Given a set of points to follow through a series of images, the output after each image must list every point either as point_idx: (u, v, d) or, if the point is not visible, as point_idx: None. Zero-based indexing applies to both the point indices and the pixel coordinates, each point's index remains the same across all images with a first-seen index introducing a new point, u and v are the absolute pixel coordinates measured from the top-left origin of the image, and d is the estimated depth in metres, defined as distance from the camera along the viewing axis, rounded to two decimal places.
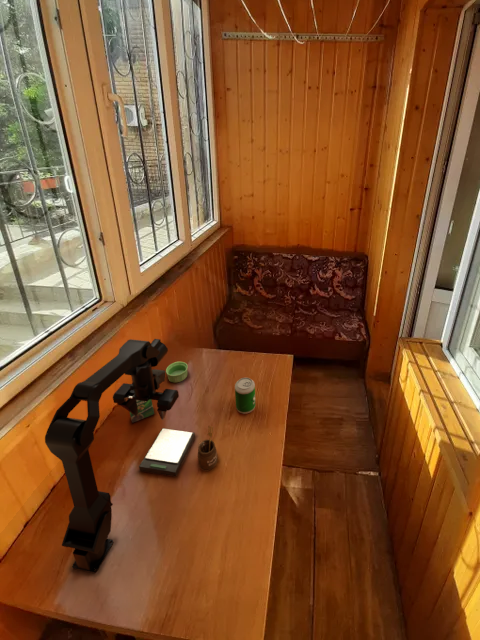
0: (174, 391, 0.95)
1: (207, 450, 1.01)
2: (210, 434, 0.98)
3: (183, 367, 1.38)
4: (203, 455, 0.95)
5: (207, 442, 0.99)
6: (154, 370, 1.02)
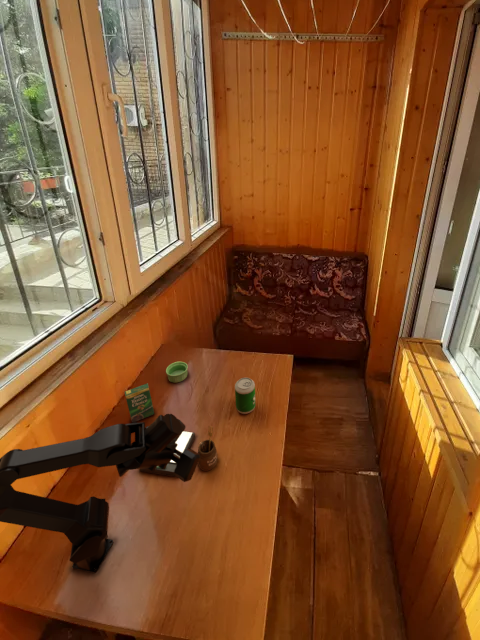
0: (190, 461, 0.77)
1: (207, 450, 1.01)
2: (210, 434, 0.98)
3: (183, 367, 1.38)
4: (203, 455, 0.95)
5: (207, 442, 0.99)
6: None
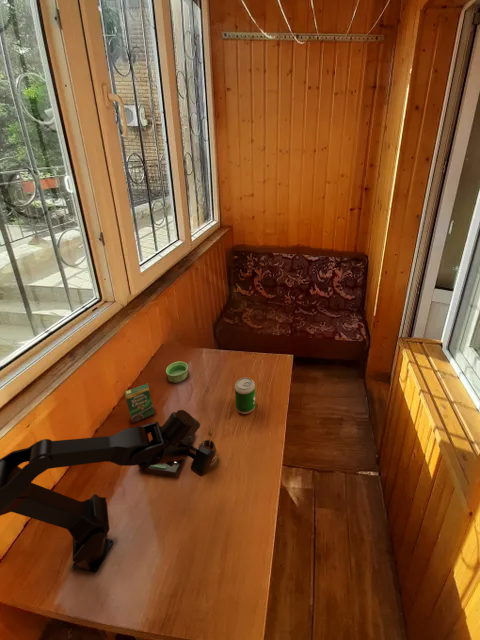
0: (205, 457, 0.82)
1: None
2: (210, 434, 0.98)
3: (183, 367, 1.38)
4: None
5: (207, 442, 0.99)
6: None
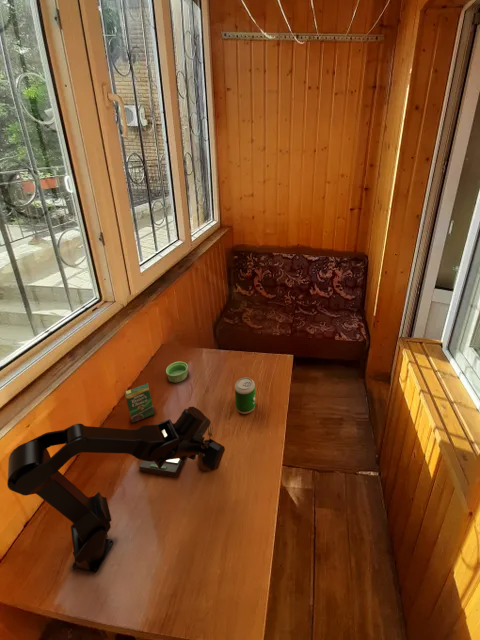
0: (217, 452, 0.87)
1: None
2: (210, 434, 0.98)
3: (183, 367, 1.38)
4: None
5: None
6: None
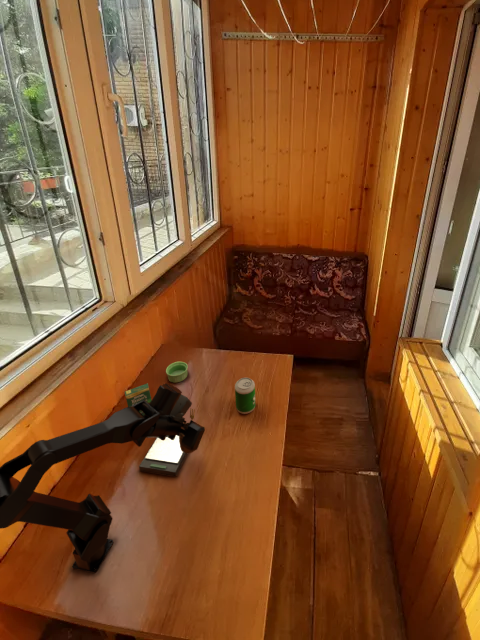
0: (196, 432, 0.86)
1: None
2: (192, 417, 0.98)
3: (183, 367, 1.38)
4: None
5: None
6: None
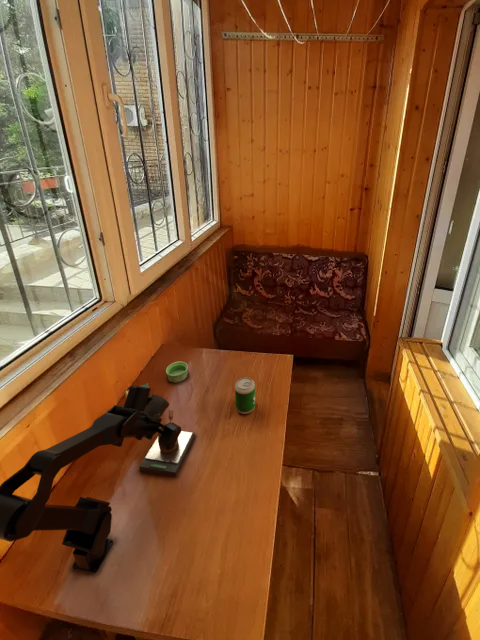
0: (172, 432, 0.90)
1: None
2: (170, 418, 1.01)
3: (183, 367, 1.38)
4: None
5: None
6: (155, 397, 0.95)
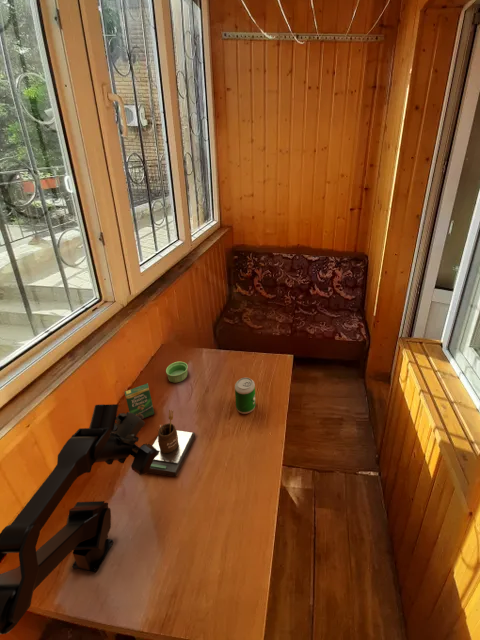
0: (146, 455, 0.82)
1: (169, 434, 1.04)
2: (170, 418, 1.01)
3: (183, 367, 1.38)
4: (162, 438, 0.98)
5: (168, 426, 1.02)
6: (129, 416, 0.87)
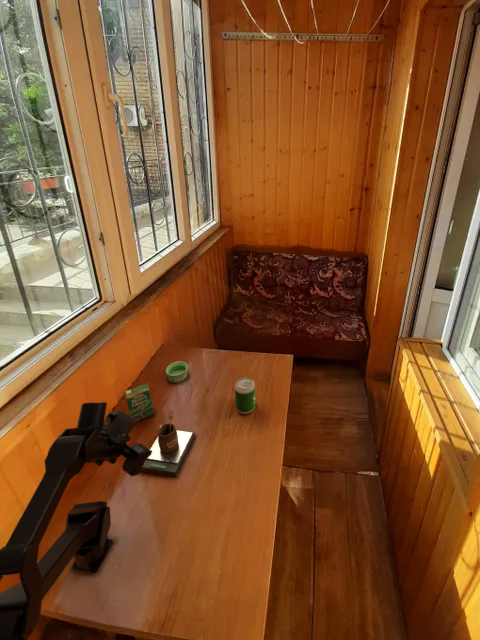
0: (138, 455, 0.78)
1: (169, 434, 1.04)
2: (170, 418, 1.01)
3: (183, 367, 1.38)
4: (162, 438, 0.98)
5: (168, 426, 1.02)
6: (121, 415, 0.84)
